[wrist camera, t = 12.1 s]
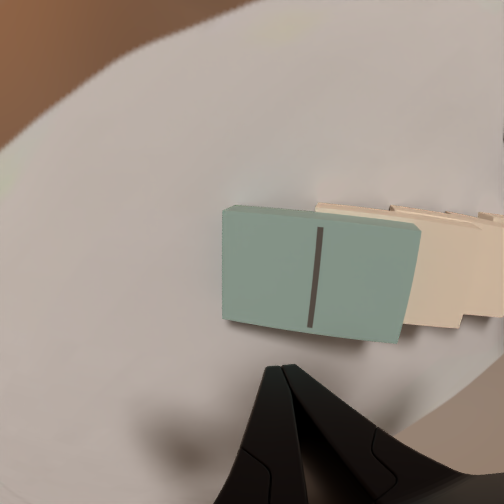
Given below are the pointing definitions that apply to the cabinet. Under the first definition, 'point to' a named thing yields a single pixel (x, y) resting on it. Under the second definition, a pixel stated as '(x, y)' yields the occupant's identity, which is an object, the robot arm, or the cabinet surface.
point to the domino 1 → (317, 271)
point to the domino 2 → (433, 264)
